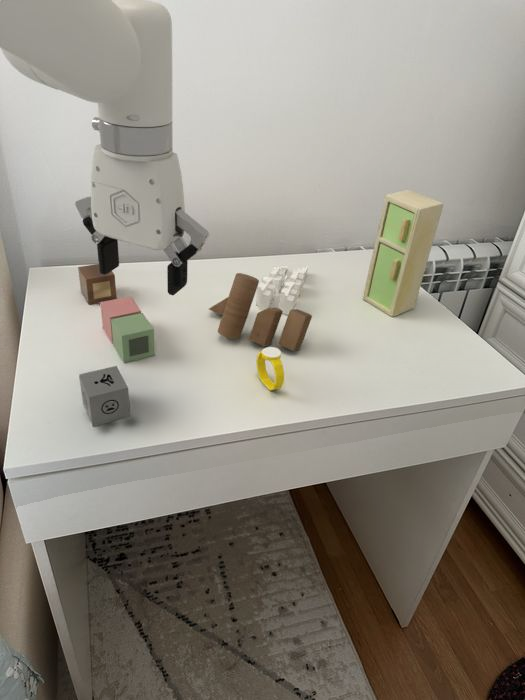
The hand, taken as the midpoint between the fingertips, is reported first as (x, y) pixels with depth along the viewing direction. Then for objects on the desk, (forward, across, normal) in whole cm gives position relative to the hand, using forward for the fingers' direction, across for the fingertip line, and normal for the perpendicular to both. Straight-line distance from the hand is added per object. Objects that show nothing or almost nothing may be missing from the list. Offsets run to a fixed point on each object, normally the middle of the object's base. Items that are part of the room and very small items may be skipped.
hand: (142, 280), depth 67 cm
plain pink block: (+18, -11, +10) cm, 23 cm away
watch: (+18, +15, +10) cm, 25 cm away
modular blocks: (+18, +7, +38) cm, 42 cm away
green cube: (+18, -7, +7) cm, 20 cm away
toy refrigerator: (+18, +26, +44) cm, 54 cm away
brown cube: (+18, -22, +18) cm, 33 cm away
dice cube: (+18, -2, -6) cm, 19 cm away
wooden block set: (+18, +7, +20) cm, 28 cm away
